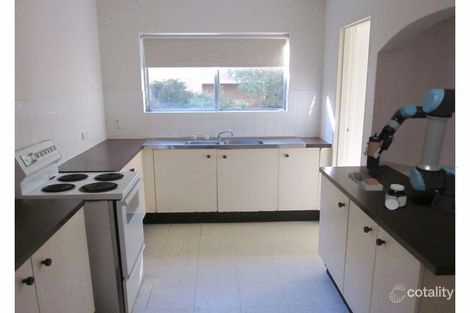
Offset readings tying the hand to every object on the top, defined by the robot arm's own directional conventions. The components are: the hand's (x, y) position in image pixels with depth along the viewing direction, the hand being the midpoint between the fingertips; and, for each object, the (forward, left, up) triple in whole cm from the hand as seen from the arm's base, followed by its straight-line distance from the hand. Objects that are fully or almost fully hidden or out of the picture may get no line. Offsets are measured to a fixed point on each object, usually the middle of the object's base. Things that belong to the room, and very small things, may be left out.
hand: (369, 155), depth 214 cm
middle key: (+6, -8, -19) cm, 21 cm away
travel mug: (-1, -3, -9) cm, 9 cm away
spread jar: (-26, +18, -22) cm, 38 cm away
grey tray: (+6, -8, -21) cm, 24 cm away
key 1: (+13, -14, -20) cm, 28 cm away
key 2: (-1, -3, -19) cm, 19 cm away
